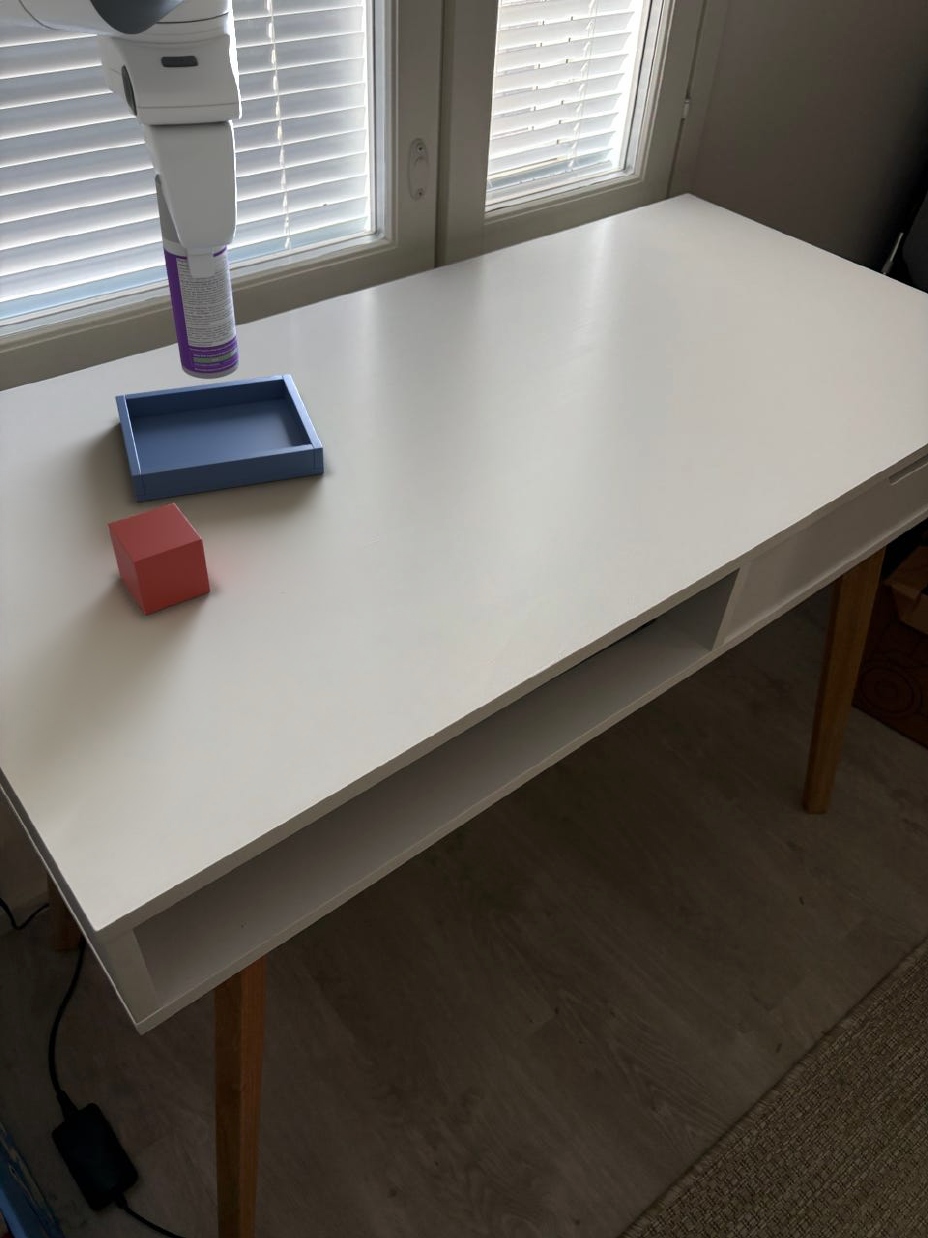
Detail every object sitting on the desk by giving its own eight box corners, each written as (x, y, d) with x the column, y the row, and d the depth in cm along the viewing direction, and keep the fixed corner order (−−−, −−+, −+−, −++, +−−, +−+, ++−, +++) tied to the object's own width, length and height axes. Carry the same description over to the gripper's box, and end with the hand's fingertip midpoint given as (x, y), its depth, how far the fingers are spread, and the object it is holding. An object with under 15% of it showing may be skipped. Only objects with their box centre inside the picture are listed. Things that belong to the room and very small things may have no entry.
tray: (136, 502, 82) (131, 476, 80) (120, 421, 91) (114, 395, 89) (324, 473, 87) (323, 447, 85) (291, 398, 95) (289, 373, 93)
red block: (145, 615, 73) (134, 562, 69) (119, 576, 76) (107, 523, 72) (210, 591, 75) (202, 538, 71) (182, 554, 78) (173, 502, 74)
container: (181, 351, 84) (154, 165, 74) (239, 349, 85) (219, 165, 75) (180, 380, 81) (151, 189, 71) (240, 378, 82) (219, 189, 72)
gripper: (105, 16, 74) (136, 208, 83) (138, 104, 60) (171, 322, 69) (193, 14, 75) (214, 202, 85) (245, 99, 62) (263, 312, 71)
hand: (195, 257), depth 77 cm, fingers closed on container, 4 cm apart
